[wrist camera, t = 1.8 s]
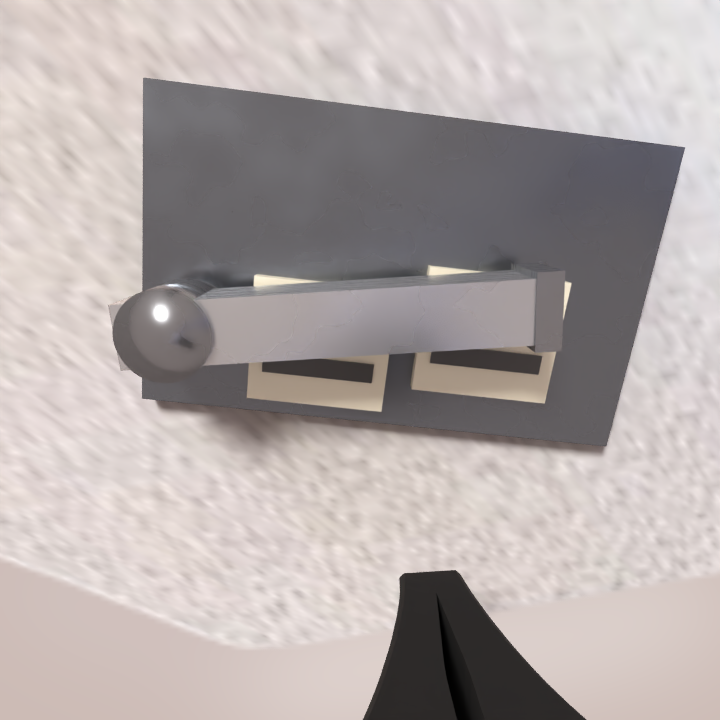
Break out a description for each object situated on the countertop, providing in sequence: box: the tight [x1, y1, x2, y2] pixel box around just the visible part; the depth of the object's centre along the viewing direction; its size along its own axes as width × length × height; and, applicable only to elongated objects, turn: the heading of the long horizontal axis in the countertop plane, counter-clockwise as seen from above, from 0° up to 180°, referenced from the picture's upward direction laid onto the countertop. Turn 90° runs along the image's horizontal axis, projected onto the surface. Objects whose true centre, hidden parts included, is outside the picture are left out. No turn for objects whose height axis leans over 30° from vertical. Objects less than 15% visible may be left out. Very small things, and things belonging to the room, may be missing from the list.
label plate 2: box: [410, 265, 572, 404], centre depth 19 cm, size 5×4×1 cm
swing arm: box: [108, 262, 565, 383], centre depth 17 cm, size 13×3×3 cm, turn 93°
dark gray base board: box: [142, 78, 685, 446], centre depth 19 cm, size 18×11×1 cm, turn 83°
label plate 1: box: [247, 274, 389, 412], centre depth 19 cm, size 5×4×1 cm
